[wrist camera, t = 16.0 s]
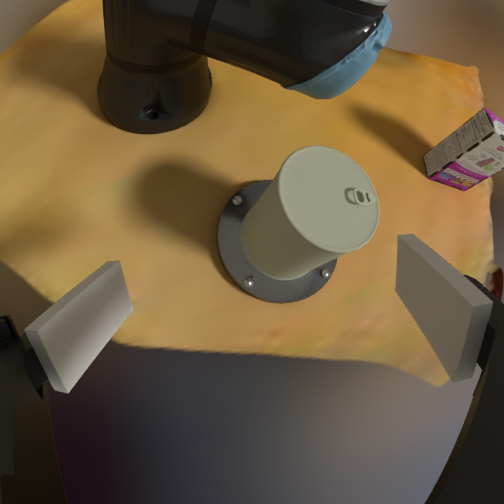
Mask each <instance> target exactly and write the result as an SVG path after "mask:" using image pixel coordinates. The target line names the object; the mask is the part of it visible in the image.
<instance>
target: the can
mask: <svg viewBox="0 0 504 504" xmlns="http://www.w3.org/2000/svg"><path fill="white" fill-rule="evenodd" d="M379 213H380V211H379V201H378V197H377V194H376V191H375V188H374V186H373V184H372V182H371V180H370V179H369V177H368V176H367V174H366V173H365V171H364V170H363V169H362V168H361V167H360V166H359V165H358V164H357V163H356V162H355V161H354V160H353V159H351V158H350V157H349V156H347V155H345V154H344V153H342V152H340V151H338V150H335V149H333V148H329V147H325V146H308V147H303V148H301V149H298V150H297V151H295V152H293V153H292V154H291V155H289V156H288V157H287V158H286V160H285V161H284V162H283V164H282V166H281V168H280V170H279V172H278V173H277V174H276V176H275V177H274V179H273V180H272V182H271V183H270V185H269V186H268V188H267V189H266V190H265V192H264V193H263V195H262V196H261V197H260V199H259V200H258V202H257V203H256V204H255V206H253V207H252V208H251V209H250V210H249V211H248V213H247V214H246V216H245V218H244V220H243V222H242V226H241V233H240V236H241V244H242V248H243V251H244V253H245V255H246V257H247V259H248V260H249V262H250V263H251V264H252V265H253V266H254V267H255V268H256V269H257V270H258V271H259V272H261V273H262V274H264V275H266V276H268V277H270V278H273V279H277V280H293V279H296V278H299V277H301V276H303V275H305V274H306V273H307V272H309V271H310V270H312V269H314V268H316V267H318V266H321V265H323V264H325V263H327V262H329V261H331V260H333V259H335V258H338V257H340V256H342V255H344V254H346V253H349V252H352V251H355V250H358V249H360V248H361V247H363V246H364V245H365V244H367V243H368V242H369V241H370V239H371V238H372V237H373V235H374V233H375V231H376V229H377V226H378V222H379Z"/></svg>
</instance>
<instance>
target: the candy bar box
mask: <svg viewBox="0 0 504 504" xmlns="http://www.w3.org/2000/svg"><path fill="white" fill-rule="evenodd" d="M423 160H424V164H425V167H426V171H427V175H428V179H431V180H434V181H437V182H440V183H443V184H446V185H449V186H452V187H455V188H457V189H460V190H463V191H466V190H468V189H470V188H471V187H473V186H475V185H477V184H478V183H480V182H481V181H483V180H485V179H486V178H488V177H490V176H491V175H493V174H495V173H496V172H498V171H500V170H501V169H503V168H504V121H503V120H502V119H500V118H499V117H498V116H496V115H495V114H494V113H492V112H491V111H489V110H488V109H486V108H485V107H484V108H483V109H482V110H481V111H479V112H478V113H477V114H476V115H474V116H473V117H472V118H471V119H469V120H468V121H467V122H466V123H464V124H463V125H462V126H461V127H459V128H458V129H457V130H456V131H454V132H453V133H452V134H451V135H449V136H448V137H447V138H446V139H444V140H443V141H442V142H440V143H439V144H438V145H436V146H435V147H434V148H433V149H431V150H430V151H429V152H427V153H426V154H425V155H424V156H423Z"/></svg>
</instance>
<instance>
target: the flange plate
mask: <svg viewBox="0 0 504 504" xmlns="http://www.w3.org/2000/svg"><path fill="white" fill-rule="evenodd" d="M271 182H272V180H264V181H259V182H255V183H252V184H250V185H248V186H246V187H244V188H242V189H241V190H240V191H238V192H237V193H236V194H235V195H234V196H233V197H232V198H231V199H230V200H229V202H228V203H227V205H226V206H225V208H224V210H223V212H222V214H221V217H220V220H219V223H218V227H217V236H216V239H217V249H218V254H219V257H220V260H221V263H222V265H223V267H224V269H225V271H226V272H227V274H228V275H229V277H230V278H231V279H232V280H233V281H234V283H235V284H236V285H237V286H239V287H240V288H241V289H242V290H243V291H245V292H246V293H248V294H249V295H251V296H253V297H255V298H257V299H260V300H262V301H266V302H270V303H280V304H282V303H291V302H296V301H299V300H302V299H305V298H308V297H309V296H311V295H313V294H315V293H316V292H317V291H319V290H320V289H321V288H322V287H323V286H324V285H325V284H326V283H327V281H328V280H329V278H330V277H331V275H332V273H333V271H334V269H335V266H336V262H337V258H335V259H333V260H331V261H329V262H327V263H325V264H323V265H321V266H318V267H316V268H314V269H312V270H310V271H309V272H307V273H306V274H305V275H303V276H301V277H299V278H296V279H293V280H277V279H273V278H270V277H268V276H266V275H264V274H262V273H261V272H259V271H258V270H257V269H256V268H255V267H254V266H253V265H252V264H251V263H250V262H249V260H248V259H247V257H246V255H245V253H244V251H243V248H242V244H241V236H240V233H241V226H242V222H243V220H244V218H245V216H246V214H247V213H248V211H249V210H250V209H251V208H252V207H253V206H255V204H256V203H257V202H258V200H259V199H260V197H261V196H262V195H263V193H264V192H265V190H266V189H267V188H268V186H269V185H270V183H271Z"/></svg>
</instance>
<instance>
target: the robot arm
mask: <svg viewBox="0 0 504 504" xmlns="http://www.w3.org/2000/svg"><path fill="white" fill-rule="evenodd" d="M389 1H390V0H103V16H104V29H105V40H106V52H107V55H106V59H105V63H104V67H103V72H102V74H101V76H100V79H99V82H98V89H97V92H98V99H99V105H100V108H101V111H102V113H103V114H104V116H105V117H106V118H107V119H108V120H109V121H110V122H111V123H112V124H114V125H115V126H117V127H119V128H121V129H123V130H126V131H130V132H134V133H141V134H156V133H164V132H168V131H172V130H175V129H178V128H180V127H183V126H185V125H187V124H188V123H190V122H192V121H193V120H194V119H196V118H197V117H198V116H199V115H200V114H201V113H202V112H203V110H204V109H205V107H206V105H207V103H208V101H209V97H210V93H211V88H212V77H211V73H210V70H209V68H208V60H207V57H210V58H213V59H216V60H219V61H222V62H225V63H228V64H231V65H233V66H236V67H239V68H241V69H244V70H247V71H249V72H252V73H255V74H257V75H260V76H262V77H265V78H267V79H269V80H272V81H274V82H277V83H279V84H280V85H281V86H282V87H283V88H285V89H289V90H295V91H298V92H300V93H303V94H305V95H307V96H310V97H312V98H315V99H331V98H334V97H336V96H338V95H340V94H342V93H344V92H345V91H346V90H348V89H349V88H350V87H351V86H353V85H354V84H355V83H356V82H357V81H358V80H359V79H360V78H361V77H362V76H363V75H364V74H365V73H366V71H367V70H368V69H369V68H370V67H371V65H372V64H373V63H374V62H375V60H376V59H377V57H378V56H377V54H378V52H379V51H380V50H381V49H382V48H383V47H384V46H385V44H386V42H387V40H388V38H389V36H390V33H391V29H392V24H391V20H390V18H389V16H387V14H386V12H384V11H383V10H384V9H385V7H386V6H387V5H388V3H389ZM395 291H396V293H397V294H398V296H399V297H400V298H401V300H402V301H403V303H404V304H405V306H406V307H407V309H408V310H409V312H410V314H411V315H412V317H413V318H414V320H415V321H416V323H417V324H418V326H419V327H420V329H421V331H422V332H423V334H424V335H425V337H426V339H427V340H428V342H429V343H430V345H431V347H432V348H433V350H434V352H435V353H436V355H437V357H438V358H439V360H440V362H441V363H442V365H443V367H444V368H445V370H446V372H447V374H448V375H449V377H450V379H451V381H452V382H453V383H454V382H458V381H461V380H465V379H468V378H472V376H473V373H474V369H475V367H476V363H478V365H479V366H480V367H481V369H482V372H481V375H480V378H479V380H478V383H477V386H476V388H475V391H474V393H473V399H472V402H471V405H470V408H469V411H468V413H467V416H466V419H465V421H464V424H463V427H462V429H461V432H460V434H459V436H458V439H457V441H456V443H455V446H454V448H453V450H452V452H451V455H450V457H449V459H448V461H447V463H446V465H445V467H444V469H443V471H442V473H441V475H440V477H439V479H438V481H437V483H436V484H435V486H434V488H433V490H432V492H431V493H430V495H429V497H428V499H427V500H426V502H425V504H504V304H503V303H502V302H501V301H500V300H499V299H498V298H497V297H496V296H494V295H493V294H492V293H491V292H489V290H488V289H487V288H485V287H483V285H482V284H481V283H480V282H479V281H477V280H476V279H474V278H472V277H470V276H468V275H462V274H461V273H460V272H459V271H458V270H457V269H455V268H454V267H453V266H452V265H451V264H449V263H448V262H447V261H446V260H445V259H443V258H442V257H441V256H440V255H439V254H437V253H436V252H435V251H434V250H432V249H431V248H430V247H429V246H428V245H426V244H425V243H424V242H422V241H421V240H420V239H419V238H417V237H416V236H415V235H414V234H405V235H398V243H397V271H396V288H395ZM133 310H134V309H133V306H132V303H131V300H130V296H129V293H128V289H127V286H126V282H125V279H124V275H123V271H122V268H121V264H120V261H109V262H106V263H105V264H104V265H102V266H101V267H100V268H98V269H97V270H96V271H95V272H93V273H92V274H91V275H89V276H88V277H87V278H86V279H84V280H83V281H82V282H81V283H79V284H78V285H77V286H76V287H74V288H73V289H72V290H71V291H69V292H68V293H67V294H66V295H64V296H63V297H62V298H61V299H60V300H58V301H57V302H56V303H55V304H53V305H52V306H51V307H50V308H49V309H48V310H46V311H45V312H44V313H43V314H42V315H41V316H40V317H38V318H37V319H36V320H35V321H34V322H32V323H31V324H30V325H29V326H28V327H27V328H25V329H24V330H25V333H24V334H23V336H21V337H20V336H19V334H18V332H17V329H16V327H15V325H14V323H13V320H12V318H11V316H10V315H2V316H0V504H68V502H67V498H66V495H65V491H64V487H63V483H62V479H61V475H60V471H59V465H58V461H57V456H56V450H55V445H54V438H53V432H52V426H51V419H50V410H49V401H48V391H47V389H46V387H45V385H44V382H45V381H46V380H47V379H49V381H50V383H51V385H52V386H53V388H54V390H56V391H60V392H65V393H69V392H70V390H71V389H72V388H73V386H74V385H75V384H76V382H77V381H78V379H79V378H80V377H81V376H82V374H83V373H84V372H85V370H86V369H87V368H88V367H89V365H90V364H91V363H92V361H93V360H94V359H95V357H96V356H97V355H98V354H99V352H100V351H101V350H102V349H103V347H104V346H105V345H106V343H107V342H108V341H109V340H110V338H111V337H112V336H113V335H114V333H115V332H116V331H117V330H118V328H119V327H120V326H121V325H122V323H123V322H124V321H125V320H126V318H127V317H128V316H129V315H130V314H131V312H132V311H133Z"/></svg>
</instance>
